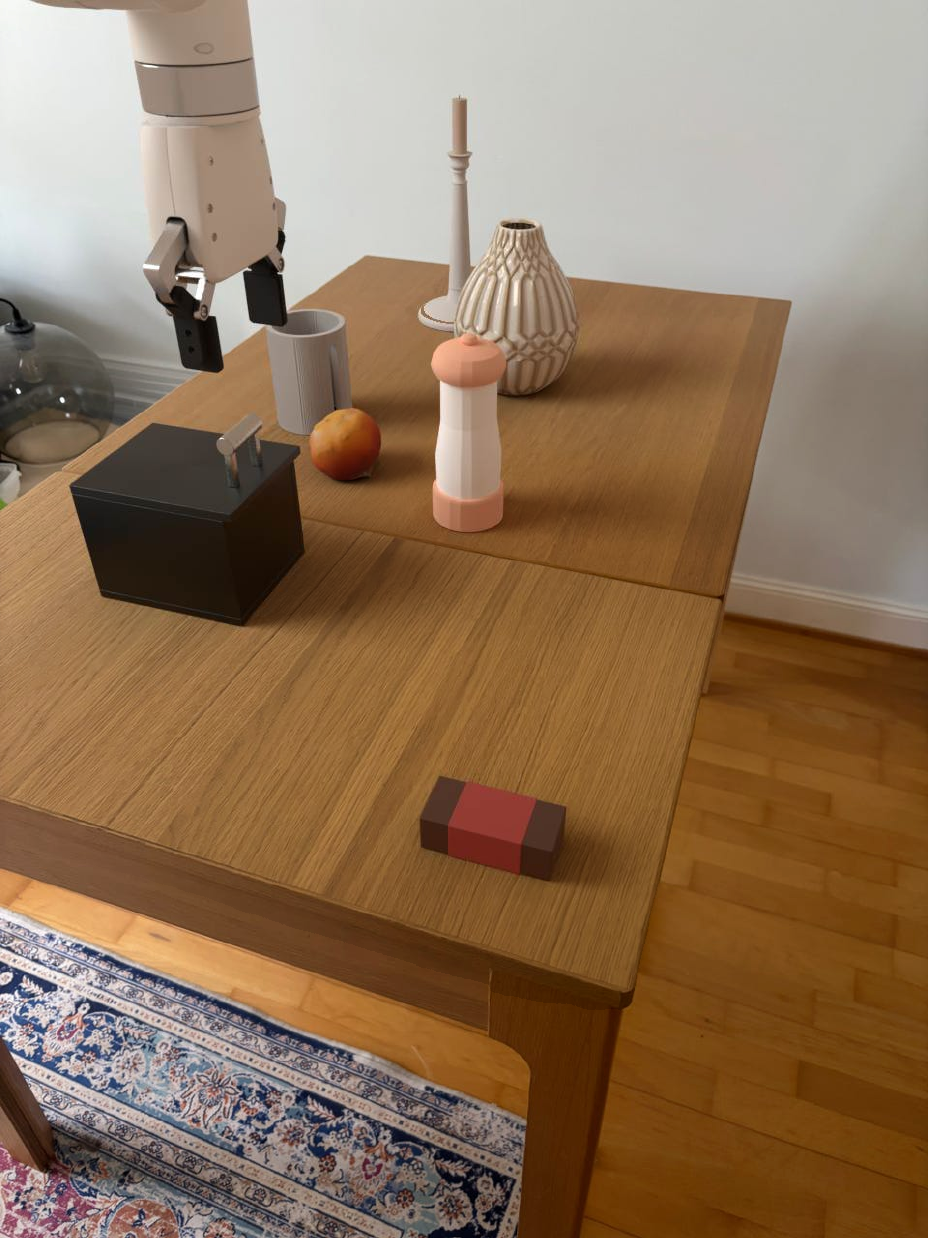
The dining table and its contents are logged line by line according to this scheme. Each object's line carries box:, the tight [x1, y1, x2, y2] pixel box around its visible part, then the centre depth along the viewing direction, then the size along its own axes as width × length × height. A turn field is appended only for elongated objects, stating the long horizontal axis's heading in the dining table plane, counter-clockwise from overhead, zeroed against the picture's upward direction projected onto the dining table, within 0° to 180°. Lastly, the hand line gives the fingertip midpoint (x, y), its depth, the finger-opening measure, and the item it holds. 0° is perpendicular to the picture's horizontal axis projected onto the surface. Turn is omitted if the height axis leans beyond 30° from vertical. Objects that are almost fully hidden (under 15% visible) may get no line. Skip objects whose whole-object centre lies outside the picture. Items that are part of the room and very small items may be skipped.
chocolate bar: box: [419, 775, 567, 882], centre depth 63 cm, size 9×4×3 cm, turn 72°
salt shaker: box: [430, 333, 506, 533], centre depth 92 cm, size 7×7×19 cm
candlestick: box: [417, 94, 473, 333], centre depth 135 cm, size 13×13×30 cm
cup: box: [264, 308, 353, 436], centre depth 113 cm, size 9×9×12 cm
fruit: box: [308, 407, 382, 481], centre depth 104 cm, size 8×8×8 cm
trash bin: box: [71, 460, 306, 627], centre depth 86 cm, size 15×13×11 cm
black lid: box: [68, 412, 302, 523], centre depth 81 cm, size 15×13×5 cm
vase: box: [453, 217, 580, 396], centre depth 119 cm, size 16×16×20 cm
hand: (237, 345), depth 72 cm, fingers open, 9 cm apart
